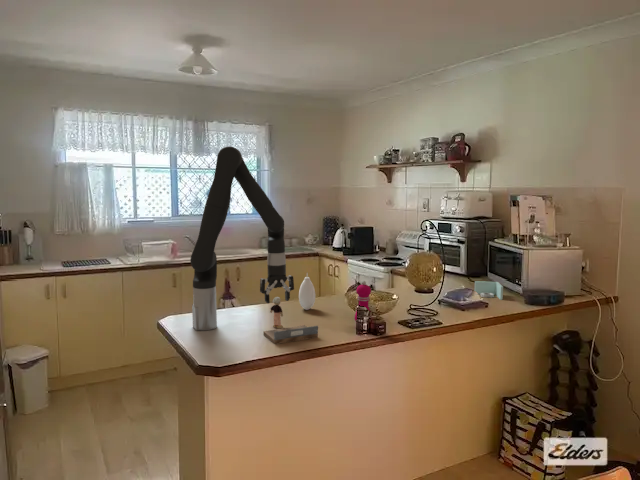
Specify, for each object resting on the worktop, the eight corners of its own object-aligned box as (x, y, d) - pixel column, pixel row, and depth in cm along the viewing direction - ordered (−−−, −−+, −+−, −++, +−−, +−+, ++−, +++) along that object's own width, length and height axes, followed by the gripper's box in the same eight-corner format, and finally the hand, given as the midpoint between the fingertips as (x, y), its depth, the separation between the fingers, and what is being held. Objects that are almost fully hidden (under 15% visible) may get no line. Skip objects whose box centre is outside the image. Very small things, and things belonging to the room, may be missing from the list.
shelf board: (274, 344, 181) (274, 340, 181) (263, 334, 191) (263, 331, 191) (317, 337, 189) (317, 333, 189) (304, 328, 200) (304, 325, 199)
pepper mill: (353, 325, 204) (353, 279, 202) (370, 325, 205) (370, 278, 202) (355, 331, 197) (356, 282, 194) (373, 330, 197) (374, 282, 195)
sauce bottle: (315, 311, 226) (315, 273, 224) (298, 311, 226) (298, 273, 224) (315, 307, 234) (315, 270, 231) (299, 307, 234) (299, 270, 232)
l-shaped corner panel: (474, 294, 264) (474, 281, 263) (497, 295, 262) (498, 281, 261) (478, 299, 252) (478, 285, 251) (502, 300, 250) (503, 286, 249)
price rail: (274, 340, 181) (274, 332, 180) (274, 339, 181) (274, 331, 181) (318, 333, 189) (318, 326, 188) (317, 333, 189) (317, 325, 189)
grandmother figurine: (287, 326, 202) (287, 297, 201) (281, 329, 199) (281, 299, 197) (272, 323, 206) (272, 294, 205) (266, 326, 203) (266, 296, 202)
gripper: (263, 266, 193) (264, 306, 195) (296, 263, 199) (296, 301, 201) (257, 263, 199) (258, 301, 201) (288, 260, 206) (289, 297, 208)
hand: (277, 301), depth 201 cm, fingers open, 8 cm apart
